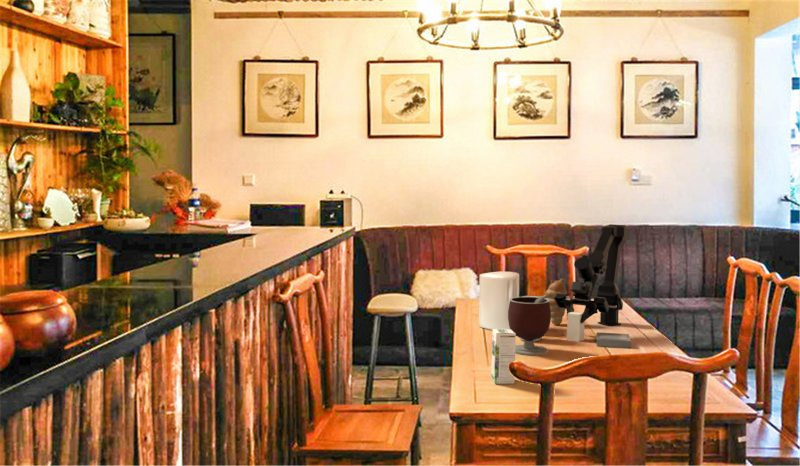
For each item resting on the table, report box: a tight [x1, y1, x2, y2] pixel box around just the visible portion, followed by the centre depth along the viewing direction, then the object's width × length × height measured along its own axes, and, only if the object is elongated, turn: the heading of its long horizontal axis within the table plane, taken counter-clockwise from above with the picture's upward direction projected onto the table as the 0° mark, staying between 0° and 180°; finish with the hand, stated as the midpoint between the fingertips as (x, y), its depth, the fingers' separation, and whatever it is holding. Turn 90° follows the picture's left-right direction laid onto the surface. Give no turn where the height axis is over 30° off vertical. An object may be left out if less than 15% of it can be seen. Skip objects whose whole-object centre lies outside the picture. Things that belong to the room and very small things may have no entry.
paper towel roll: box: [478, 271, 520, 331], centre depth 274 cm, size 15×14×22 cm
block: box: [566, 311, 586, 342], centre depth 257 cm, size 4×4×10 cm
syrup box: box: [490, 329, 517, 385], centre depth 205 cm, size 6×6×14 cm
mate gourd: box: [508, 294, 551, 357], centre depth 239 cm, size 16×14×20 cm
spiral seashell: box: [544, 278, 568, 326], centre depth 282 cm, size 9×8×18 cm
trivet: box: [595, 331, 632, 349], centre depth 251 cm, size 11×11×3 cm
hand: (574, 321), depth 256 cm, fingers closed on block, 4 cm apart
